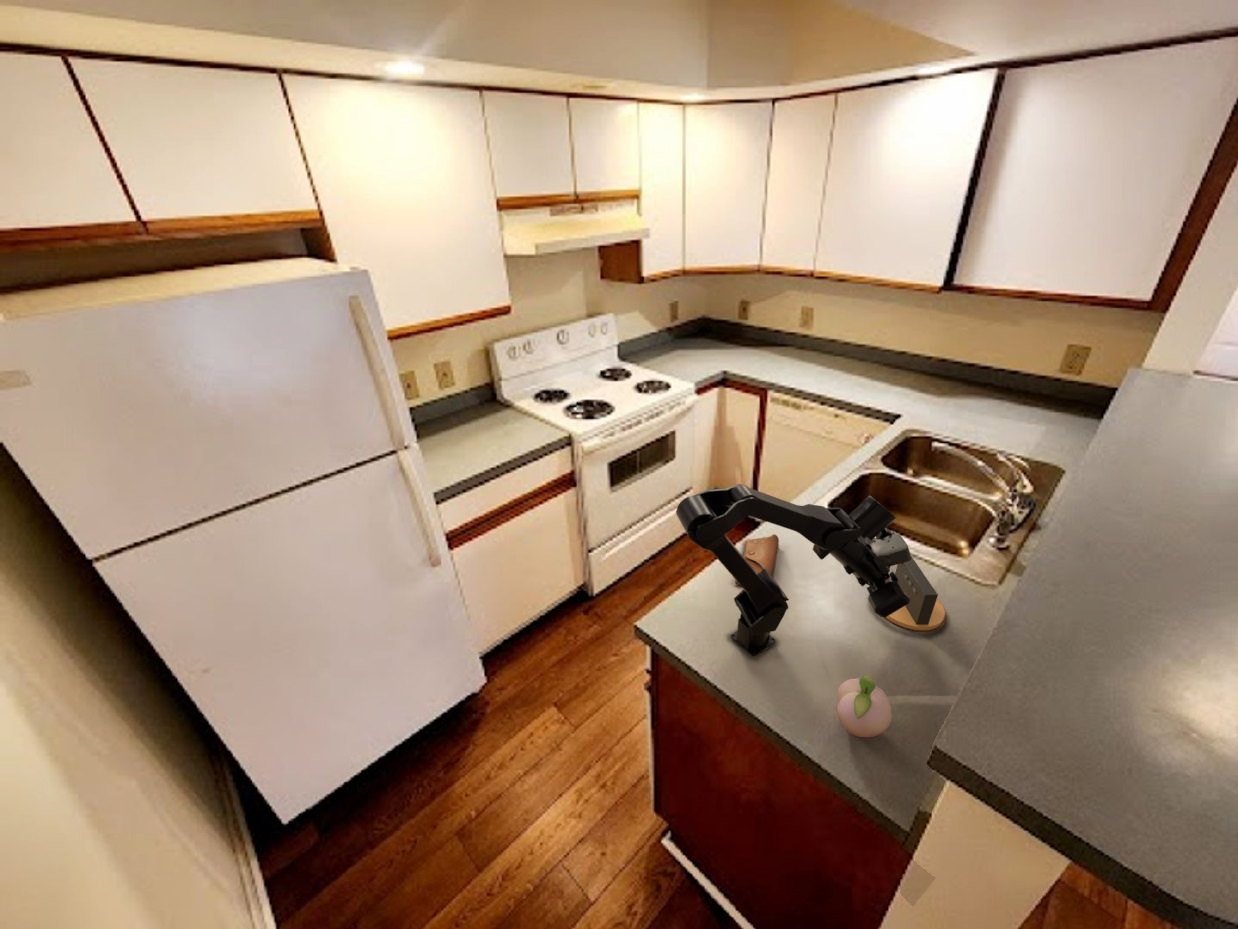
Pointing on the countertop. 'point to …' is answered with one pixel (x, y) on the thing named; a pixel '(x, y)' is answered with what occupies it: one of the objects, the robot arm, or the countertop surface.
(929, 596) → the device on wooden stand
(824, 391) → the countertop surface
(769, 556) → the sunglasses case
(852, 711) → the decorative fruit
